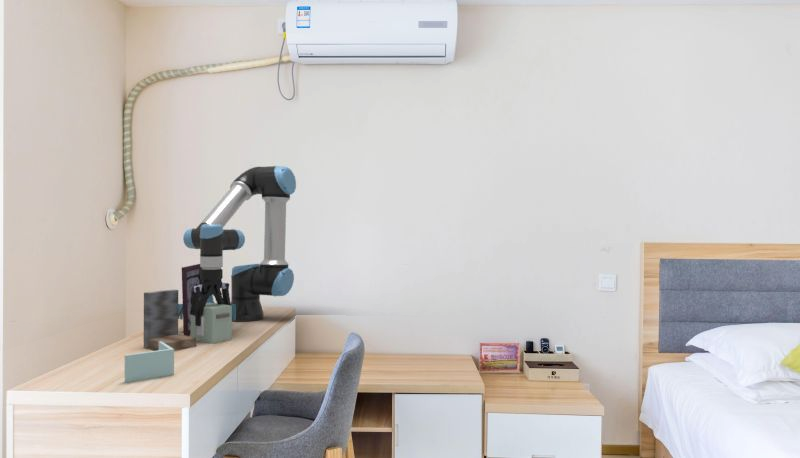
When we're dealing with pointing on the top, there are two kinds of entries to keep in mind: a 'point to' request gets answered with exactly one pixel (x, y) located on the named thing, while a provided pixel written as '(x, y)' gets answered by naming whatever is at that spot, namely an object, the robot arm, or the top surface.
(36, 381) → the top surface
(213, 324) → the cabinet box
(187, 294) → the picture frame
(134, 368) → the l-shaped corner panel
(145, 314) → the grey bookend
